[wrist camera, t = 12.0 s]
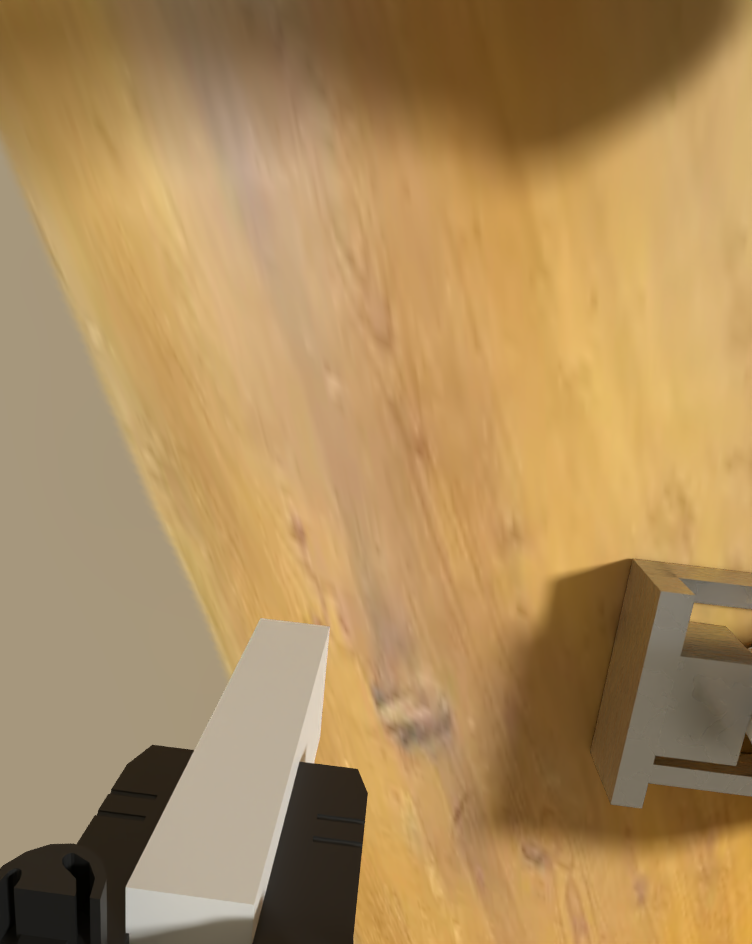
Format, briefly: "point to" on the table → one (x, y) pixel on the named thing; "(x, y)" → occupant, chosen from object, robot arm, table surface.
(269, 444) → the table surface
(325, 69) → the table surface
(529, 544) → the table surface
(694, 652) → the frame
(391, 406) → the table surface
